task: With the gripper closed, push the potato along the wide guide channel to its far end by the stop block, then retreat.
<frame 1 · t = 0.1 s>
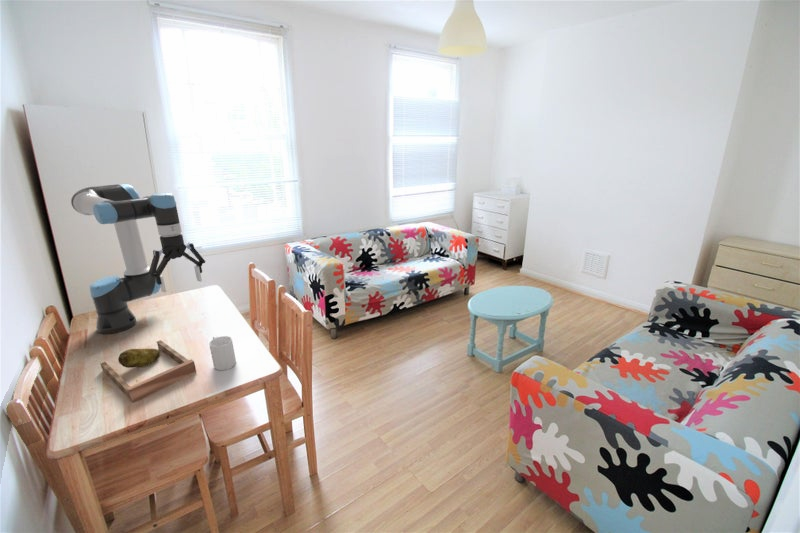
hand: (182, 286, 148), 28 cm above the table, fingers open, 13 cm apart
mug: (223, 362, 146), on the table
channel: (148, 370, 141), on the table
potato: (142, 366, 144), on the table
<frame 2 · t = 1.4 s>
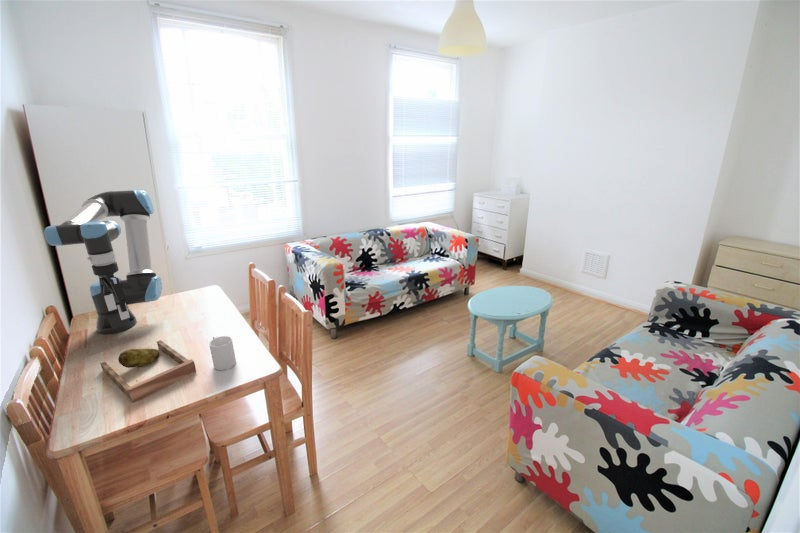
hand: (119, 314, 146), 18 cm above the table, fingers open, 12 cm apart
nothing on the table moved.
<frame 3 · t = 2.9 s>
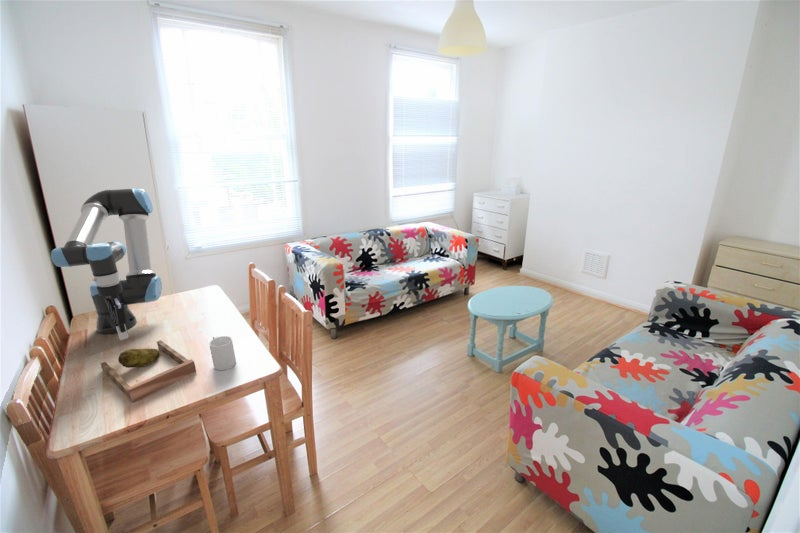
hand: (124, 338, 149), 8 cm above the table, fingers closed
nothing on the table moved.
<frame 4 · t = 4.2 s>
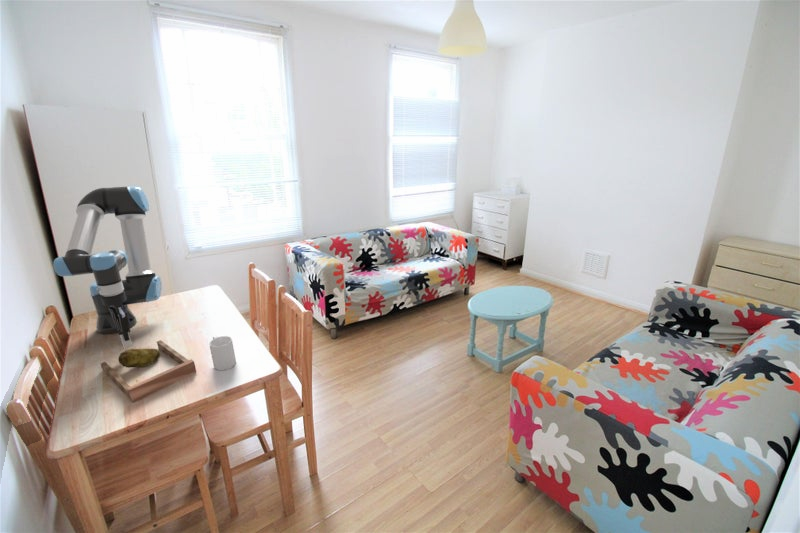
hand: (128, 346, 149), 5 cm above the table, fingers closed
nothing on the table moved.
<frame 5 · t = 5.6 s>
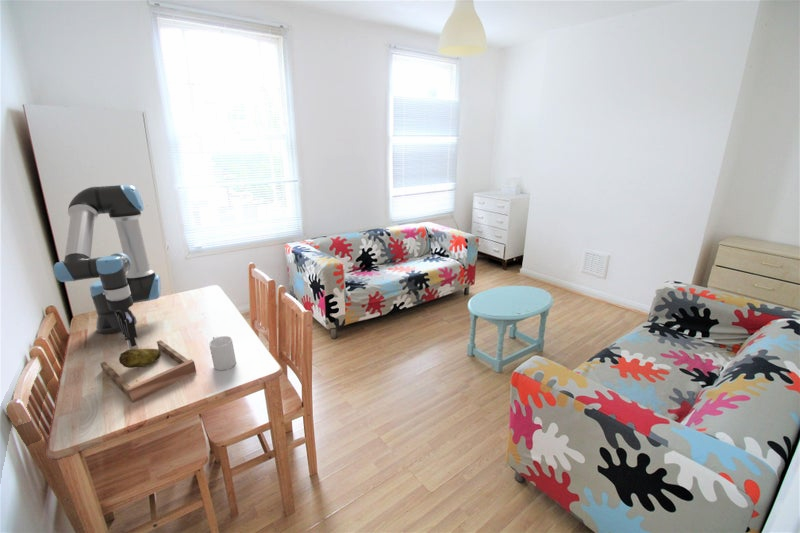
hand: (134, 352, 145), 5 cm above the table, fingers closed
potato: (143, 366, 144), on the table, touching gripper
everything else where it was.
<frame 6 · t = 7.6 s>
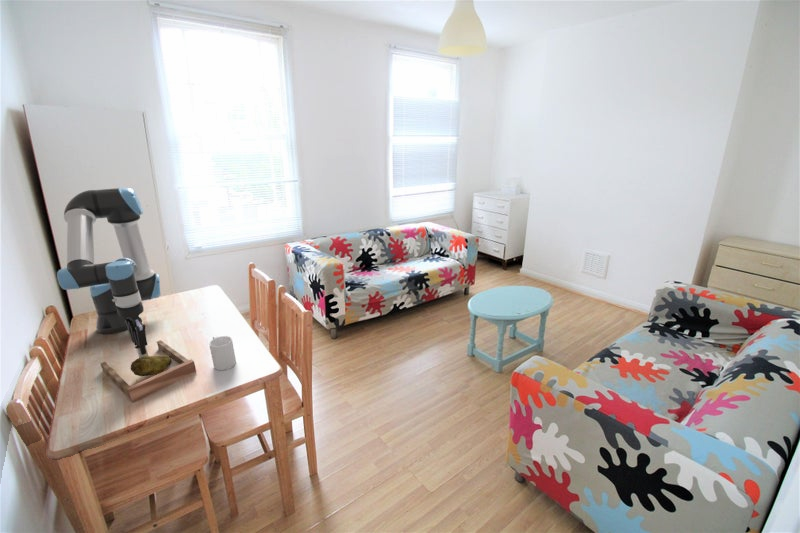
hand: (144, 360, 140), 4 cm above the table, fingers closed
potato: (154, 373, 139), on the table, touching gripper
everything else where it was.
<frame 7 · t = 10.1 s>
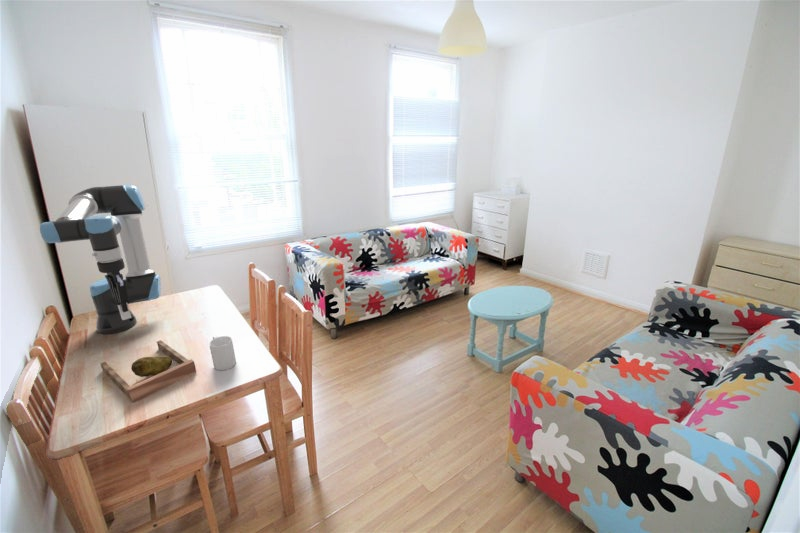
hand: (126, 318, 140), 20 cm above the table, fingers closed
potato: (155, 374, 139), on the table
everything else where it was.
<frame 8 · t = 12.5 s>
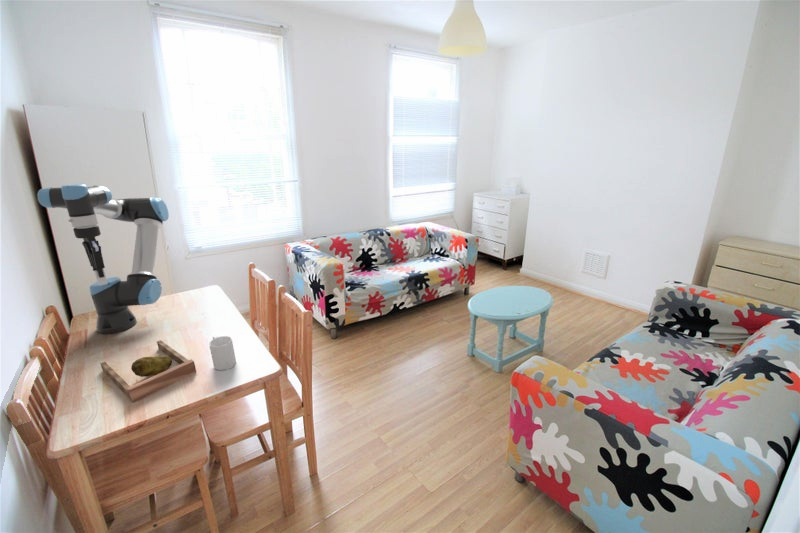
hand: (103, 284, 147), 29 cm above the table, fingers closed
nothing on the table moved.
at the end: potato inside the target area (3.9 cm from its centre), on the table; potato moved 10.2 cm from its start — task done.
